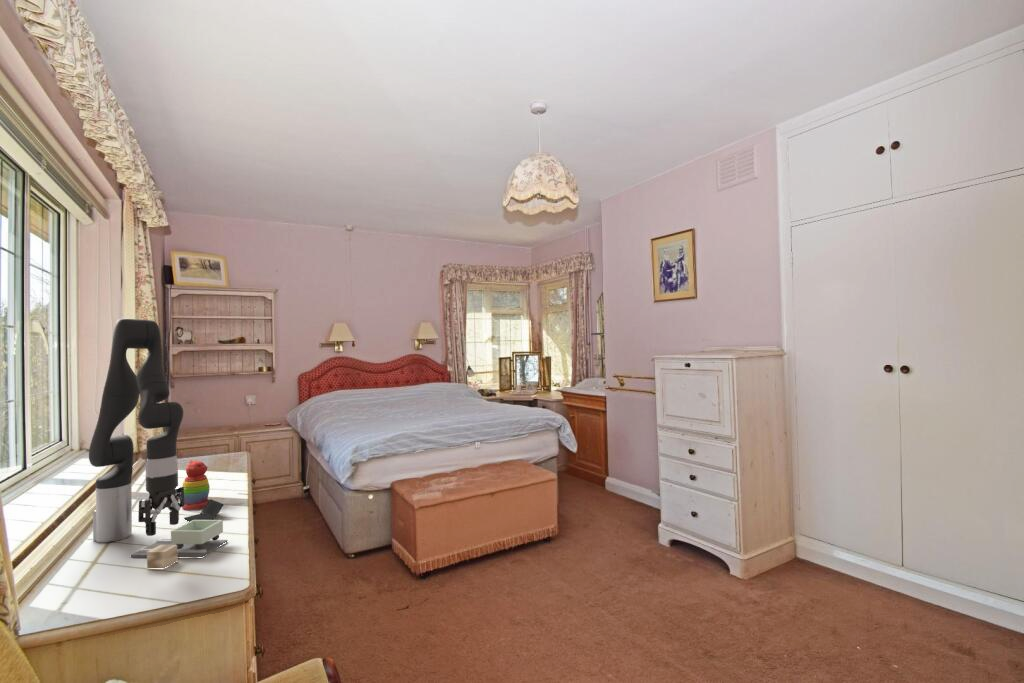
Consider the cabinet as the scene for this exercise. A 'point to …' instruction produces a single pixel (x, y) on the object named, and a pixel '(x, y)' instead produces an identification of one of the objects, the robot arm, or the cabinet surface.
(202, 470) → the stacking bear
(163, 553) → the block
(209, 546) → the track
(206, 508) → the dark piece
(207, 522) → the mint green tray
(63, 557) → the cabinet surface
